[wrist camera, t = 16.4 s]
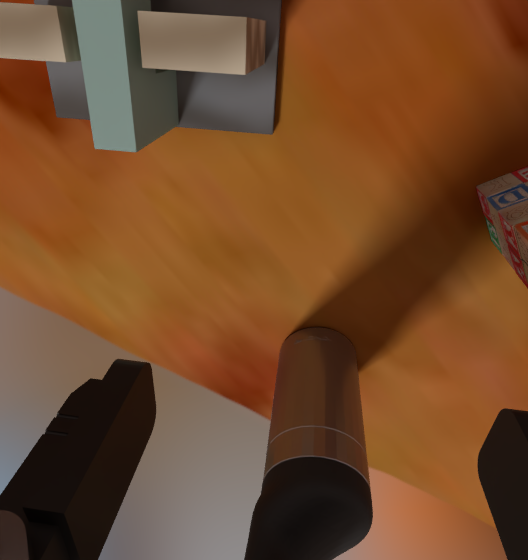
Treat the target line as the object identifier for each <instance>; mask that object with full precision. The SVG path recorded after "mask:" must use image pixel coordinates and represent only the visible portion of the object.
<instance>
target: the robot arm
mask: <svg viewBox="0 0 528 560" xmlns="http://www.w3.org/2000/svg"><path fill="white" fill-rule="evenodd" d="M155 417H156V401H155V394H154V385H153V376H152V368H151V365H150V363H147V362H139V361H131V360H123V359H117V360H115V361H114V362H113V364H112V365H111V367H110V368H109V370H108V371H107V373H106V375H105V376H104V378H103V379H102V380H98V379H89V380H88V381H87V382H86V383H84V384H83V385H82V386H80V387H79V388H78V389H76V390H75V391H74V392H72V393H71V394H70V396H69V397H68V399H67V400H66V401H65V403H64V404H63V406H62V407H61V408H60V410H59V411H58V413H57V417H56V418H55V417H54V419H53V420H52V421H51V423H50V424H49V426H48V427H47V429H46V432H45V434H43V435H42V436H41V437H40V439H39V440H38V442H37V443H36V445H35V446H34V447H33V449H32V450H31V452H30V453H29V455H28V456H27V458H26V459H25V460H24V462H23V463H22V465H21V466H20V468H19V469H18V470H17V472H16V473H15V475H14V476H13V478H12V479H11V481H10V482H9V484H8V485H7V486H6V488H5V490H4V491H3V492H2V494H1V495H0V560H98V558H99V556H100V553H101V551H102V549H103V546H104V544H105V542H106V539H107V537H108V534H109V532H110V530H111V527H112V525H113V523H114V520H115V518H116V516H117V513H118V511H119V509H120V506H121V504H122V502H123V499H124V497H125V495H126V492H127V490H128V487H129V485H130V483H131V480H132V478H133V476H134V473H135V471H136V468H137V466H138V464H139V462H140V459H141V457H142V454H143V452H144V450H145V447H146V445H147V443H148V440H149V438H150V436H151V433H152V430H153V427H154V423H155ZM478 474H479V479H480V482H481V485H482V488H483V491H484V494H485V496H486V499H487V502H488V505H489V508H490V511H491V513H492V516H493V519H494V522H495V525H496V528H497V531H498V533H499V536H500V539H501V542H502V545H503V548H504V550H505V553H506V556H507V559H508V560H528V411H521V410H513V409H502V410H501V411H500V412H499V414H498V416H497V418H496V420H495V422H494V424H493V426H492V428H491V430H490V432H489V434H488V436H487V438H486V440H485V442H484V444H483V446H482V448H481V450H480V452H479V456H478ZM372 518H373V512H372V499H371V492H370V481H369V472H368V462H367V454H366V444H365V435H364V425H363V416H362V406H361V397H360V387H359V376H358V368H357V359H356V351H355V349H354V346H353V345H352V343H351V342H350V341H349V340H348V339H347V338H346V337H345V336H344V335H342V334H340V333H338V332H337V331H334V330H331V329H327V328H321V327H312V328H306V329H302V330H300V331H297V332H295V333H293V334H292V335H290V336H289V337H288V338H287V339H286V340H285V341H284V343H283V345H282V347H281V350H280V355H279V362H278V370H277V377H276V384H275V392H274V400H273V407H272V415H271V423H270V430H269V439H268V446H267V453H266V463H265V470H264V478H263V484H262V491H261V495H260V497H259V499H258V501H257V503H256V505H255V509H254V511H253V515H252V520H251V526H250V532H249V538H248V543H247V548H246V553H245V559H244V560H332V559H334V558H335V557H337V556H339V555H340V554H342V553H344V552H346V551H347V550H349V549H351V548H353V547H354V546H355V545H357V544H358V543H359V542H361V541H362V540H363V539H364V538H365V536H366V535H367V534H368V532H369V530H370V527H371V524H372Z"/></svg>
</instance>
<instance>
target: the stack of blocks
mask: <svg viewBox="0 0 528 560" xmlns="http://www.w3.org/2000/svg"><path fill="white" fill-rule="evenodd" d="M476 190H477V193H478V197H479V200H480V204H481V207H482V210H483V214H484V216H485V219H486V222H487V226H488V230H489V233H490V237H491V240H492V242H493V243H494V245H495V246H496V247H497V248H498V250H499V251H500V252H501V254H503V256H504V257H505V258H506V260H507V261H508V262H509V264H510V265H511V266H512V268H513V269H514V270H515V272H516V274H517V275H518V276H519V278H520V279H521V280H522V282H523V283H524V284H525V285H526V287H527V288H528V166H527V167H524V168H522V169H519V170H517V171H514V172H512V173H509V174H506V175H503V176H501V177H498V178H496V179H493V180H491V181H488V182H485V183H483V184H480V185H478V186H476Z"/></svg>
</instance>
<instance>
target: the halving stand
mask: <svg viewBox="0 0 528 560" xmlns="http://www.w3.org/2000/svg"><path fill="white" fill-rule="evenodd" d="M150 1H151V11H137V12H138V23H139V34H140V46H141V57H142V68H154V69H168V70H176V78H177V98H178V119H179V125H177V126H176V127H185V128H198V129H210V130H223V131H235V132H247V133H260V134H273V132H274V116H275V100H276V84H277V68H278V51H279V35H280V19H281V3H282V0H150ZM34 3H35V5H34V4H17V3H1V2H0V58H11V59H25V60H40V61H46V64H47V69H48V74H49V80H50V85H51V90H52V95H53V100H54V105H55V110H56V115H57V117H61V118H74V119H86V120H90V114H89V108H88V101H87V95H86V88H85V82H84V75H83V69H82V62H81V56H80V49H79V43H78V36H77V30H76V23H75V17H74V10H73V4H72V0H34Z"/></svg>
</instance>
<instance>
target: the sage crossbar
mask: <svg viewBox="0 0 528 560" xmlns="http://www.w3.org/2000/svg"><path fill="white" fill-rule="evenodd" d="M72 4H73V10H74V17H75V23H76V30H77V36H78V43H79V49H80V56H81V62H82V69H83V75H84V82H85V88H86V95H87V101H88V108H89V114H90V121H91V127H92V134H93V140H94V147H95V149H106V150H117V151H128V152H137V151H139V150H141V149H142V148H144V147H145V146H147V145H148V144H150V143H151V142H153V141H154V140H156V139H157V138H159V137H161V136H162V135H164V134H165V133H167V132H168V131H170V130H171V129H173V128H174V127H176V126H177V125H179V119H178V98H177V78H176V70H168V69H154V68H142V57H141V46H140V34H139V23H138V12H137V11H151V1H150V0H72Z"/></svg>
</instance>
